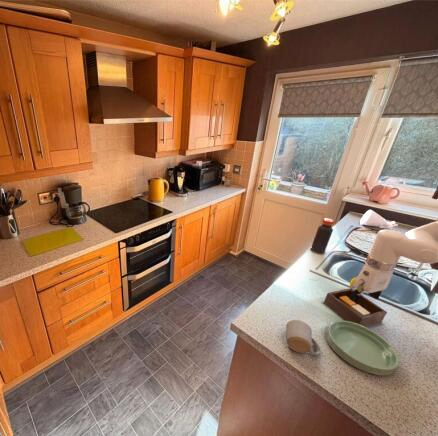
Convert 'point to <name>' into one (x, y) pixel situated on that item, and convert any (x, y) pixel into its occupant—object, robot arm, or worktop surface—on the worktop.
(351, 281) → the lemon
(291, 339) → the ceramic mug
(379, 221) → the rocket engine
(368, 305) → the holder
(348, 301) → the orange block
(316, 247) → the bottle
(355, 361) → the plate
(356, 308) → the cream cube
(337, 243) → the worktop surface
